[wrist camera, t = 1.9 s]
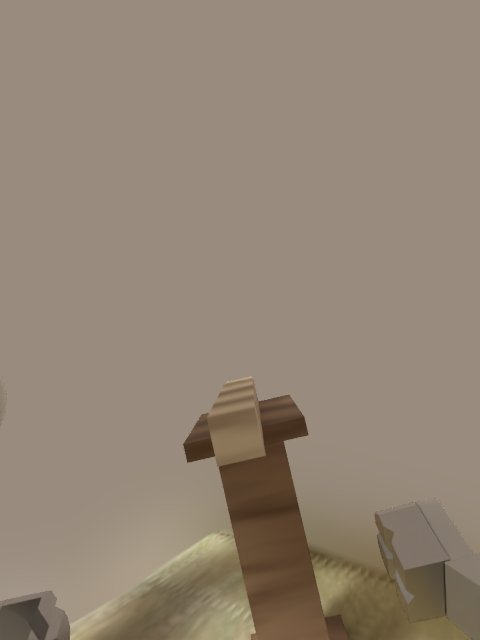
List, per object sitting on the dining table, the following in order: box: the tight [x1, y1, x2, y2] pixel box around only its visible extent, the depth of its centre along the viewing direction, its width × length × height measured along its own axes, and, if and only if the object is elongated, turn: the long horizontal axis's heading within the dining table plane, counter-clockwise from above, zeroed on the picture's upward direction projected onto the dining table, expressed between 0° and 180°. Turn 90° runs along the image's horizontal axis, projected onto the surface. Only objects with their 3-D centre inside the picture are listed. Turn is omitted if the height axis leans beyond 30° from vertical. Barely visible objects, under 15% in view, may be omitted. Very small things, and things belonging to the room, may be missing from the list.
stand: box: [183, 395, 349, 640], centre depth 43 cm, size 14×10×26 cm
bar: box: [207, 376, 266, 466], centre depth 38 cm, size 22×3×3 cm, turn 179°
